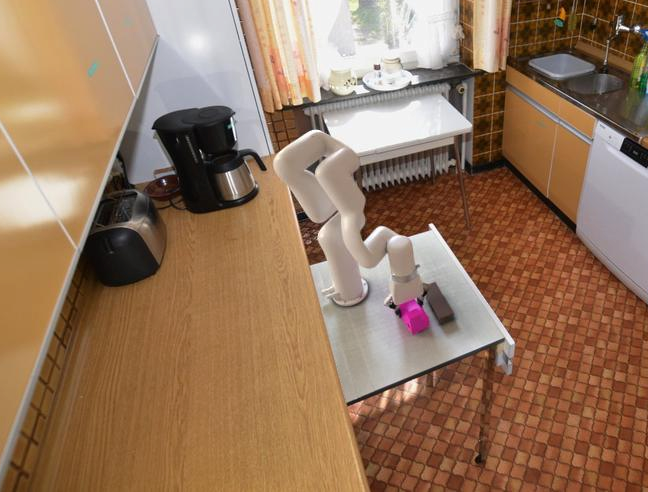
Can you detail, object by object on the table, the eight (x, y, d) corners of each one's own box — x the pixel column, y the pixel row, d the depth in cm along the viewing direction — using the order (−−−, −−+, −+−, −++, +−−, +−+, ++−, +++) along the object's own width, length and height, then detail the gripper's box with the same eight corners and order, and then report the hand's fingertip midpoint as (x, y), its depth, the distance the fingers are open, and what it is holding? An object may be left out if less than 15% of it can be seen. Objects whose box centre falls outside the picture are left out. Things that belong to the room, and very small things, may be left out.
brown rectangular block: (422, 291, 153) (422, 286, 151) (435, 286, 154) (435, 281, 153) (440, 324, 141) (439, 318, 139) (454, 318, 142) (454, 313, 141)
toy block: (429, 325, 139) (427, 310, 135) (412, 335, 137) (409, 319, 133) (408, 294, 151) (406, 279, 147) (392, 302, 148) (389, 287, 144)
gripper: (425, 254, 139) (429, 293, 149) (372, 273, 134) (381, 312, 144) (434, 270, 133) (438, 309, 143) (380, 290, 128) (388, 329, 138)
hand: (409, 310), depth 143 cm, fingers closed on toy block, 6 cm apart
